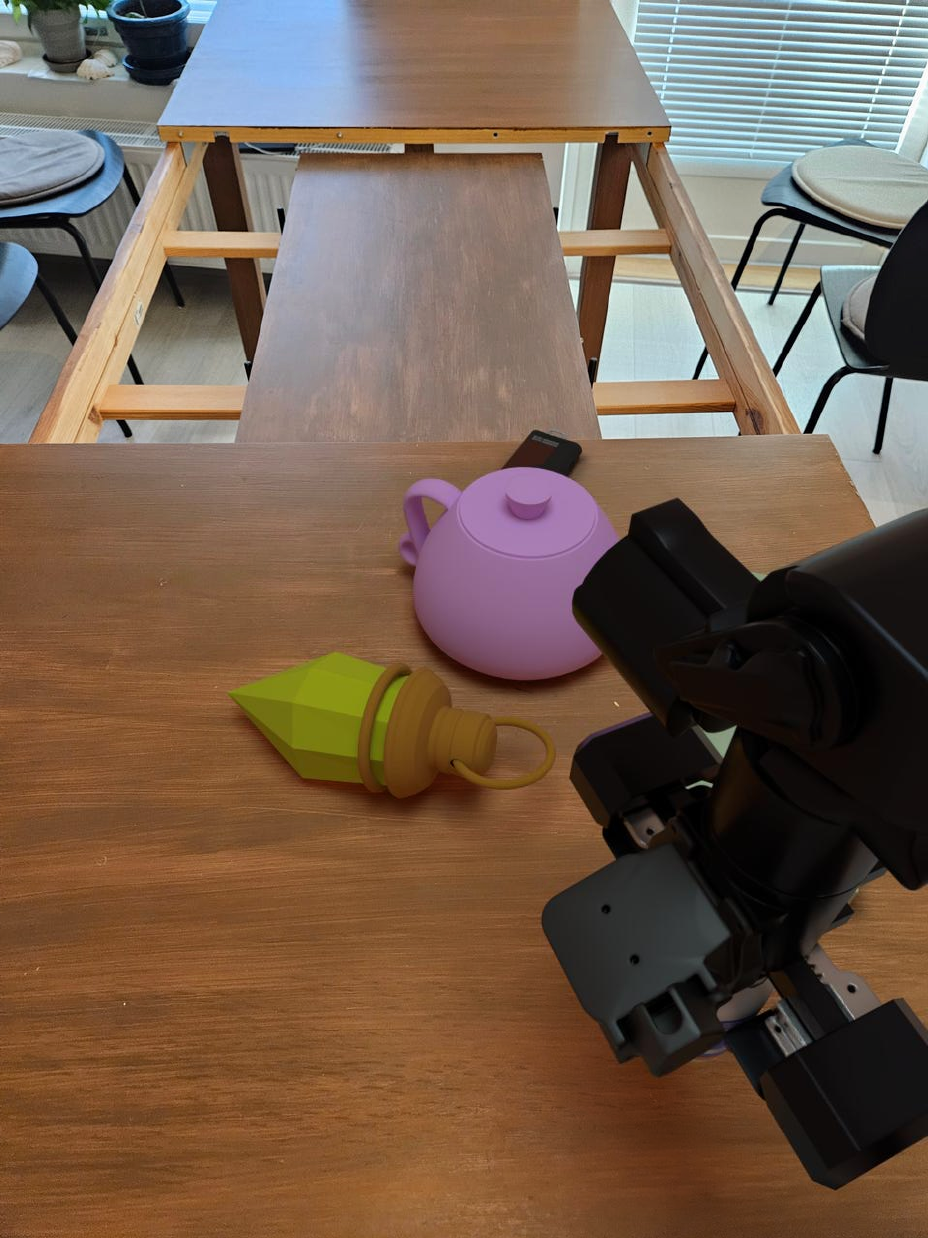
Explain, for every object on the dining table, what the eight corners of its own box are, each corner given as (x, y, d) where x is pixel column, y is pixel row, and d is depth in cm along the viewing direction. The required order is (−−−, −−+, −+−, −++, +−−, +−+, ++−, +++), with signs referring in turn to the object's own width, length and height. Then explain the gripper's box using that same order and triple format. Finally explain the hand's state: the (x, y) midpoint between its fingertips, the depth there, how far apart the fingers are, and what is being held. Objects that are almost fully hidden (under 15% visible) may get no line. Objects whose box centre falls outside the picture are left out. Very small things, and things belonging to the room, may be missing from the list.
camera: (591, 443, 87) (542, 509, 81) (586, 464, 89) (538, 531, 83) (533, 420, 89) (480, 483, 82) (529, 441, 91) (478, 505, 85)
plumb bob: (203, 779, 65) (534, 860, 57) (176, 678, 60) (536, 753, 52) (266, 704, 72) (569, 768, 64) (248, 609, 67) (573, 666, 59)
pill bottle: (745, 969, 46) (799, 884, 39) (738, 1079, 42) (797, 1009, 35) (639, 942, 47) (673, 854, 40) (624, 1047, 43) (658, 972, 36)
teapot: (349, 638, 73) (332, 512, 63) (445, 511, 84) (444, 385, 74) (640, 751, 66) (674, 628, 56) (705, 596, 77) (743, 469, 67)
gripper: (468, 696, 34) (464, 880, 46) (765, 1231, 23) (660, 1295, 34) (711, 611, 37) (650, 803, 49) (1080, 1045, 26) (886, 1161, 37)
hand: (699, 985), depth 42 cm, fingers closed on pill bottle, 5 cm apart
